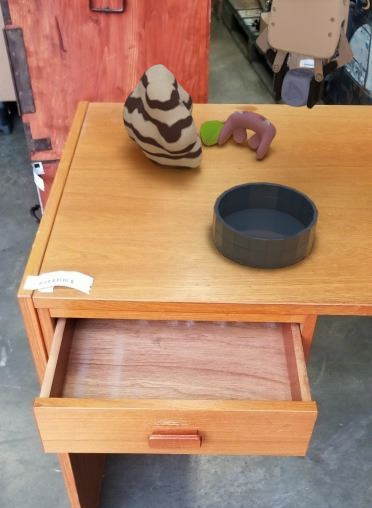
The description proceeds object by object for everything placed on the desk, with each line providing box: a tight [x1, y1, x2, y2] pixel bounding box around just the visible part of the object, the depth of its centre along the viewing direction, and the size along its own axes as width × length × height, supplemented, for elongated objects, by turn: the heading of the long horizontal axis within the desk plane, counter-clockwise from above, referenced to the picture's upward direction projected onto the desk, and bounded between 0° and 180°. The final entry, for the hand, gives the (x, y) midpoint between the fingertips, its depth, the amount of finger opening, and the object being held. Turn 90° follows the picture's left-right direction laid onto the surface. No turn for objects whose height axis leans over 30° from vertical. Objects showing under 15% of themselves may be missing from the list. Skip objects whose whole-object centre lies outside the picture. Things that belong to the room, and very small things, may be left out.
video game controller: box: [217, 110, 277, 160], centre depth 108 cm, size 10×5×7 cm, turn 56°
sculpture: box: [122, 63, 203, 171], centre depth 101 cm, size 22×12×15 cm, turn 14°
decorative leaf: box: [200, 120, 234, 147], centre depth 112 cm, size 8×9×1 cm
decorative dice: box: [281, 67, 315, 108], centre depth 87 cm, size 4×4×4 cm
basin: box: [212, 181, 319, 270], centre depth 89 cm, size 15×15×5 cm
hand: (296, 100), depth 89 cm, fingers closed on decorative dice, 4 cm apart
